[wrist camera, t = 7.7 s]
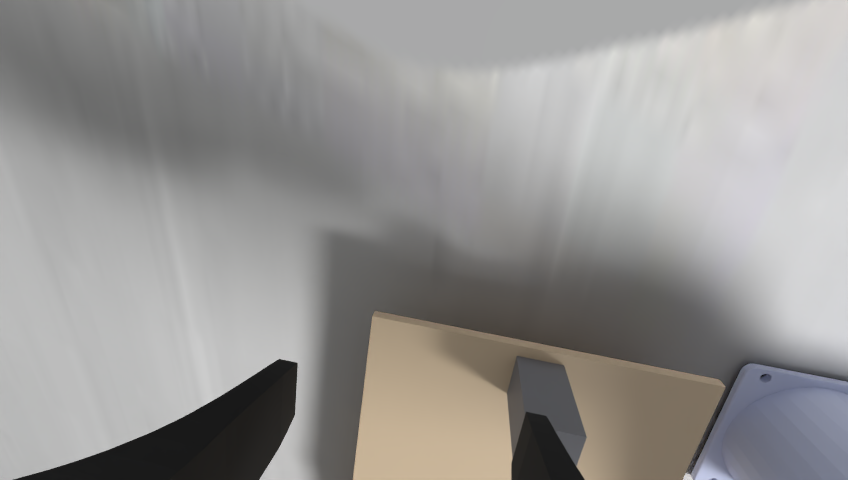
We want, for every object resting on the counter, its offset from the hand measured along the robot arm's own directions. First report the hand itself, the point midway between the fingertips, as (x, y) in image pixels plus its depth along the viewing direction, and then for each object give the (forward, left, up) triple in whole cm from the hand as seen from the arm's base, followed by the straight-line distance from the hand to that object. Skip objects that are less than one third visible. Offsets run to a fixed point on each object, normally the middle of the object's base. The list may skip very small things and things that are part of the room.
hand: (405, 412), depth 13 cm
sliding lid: (-5, +8, -6) cm, 11 cm away
